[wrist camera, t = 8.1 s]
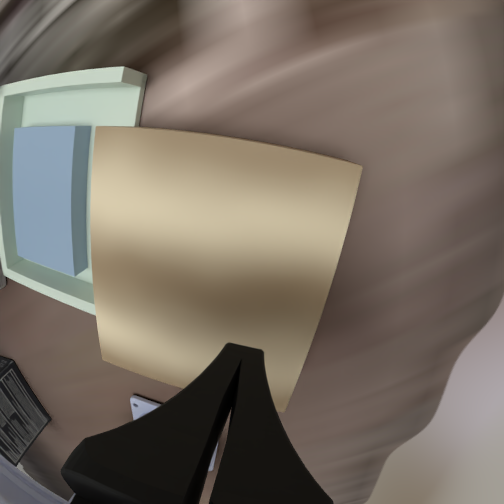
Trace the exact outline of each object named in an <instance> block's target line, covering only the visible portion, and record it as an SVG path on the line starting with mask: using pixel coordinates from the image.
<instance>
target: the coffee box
mask: <svg viewBox="0 0 504 504" xmlns="http://www.w3.org/2000/svg"><path fill="white" fill-rule="evenodd" d="M5 286H6V277H5V276H4V275H3V270H2V264H1V258H0V289H2V288H3V287H5Z"/></svg>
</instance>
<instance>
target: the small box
mask: <svg viewBox="0 0 504 504" xmlns="http://www.w3.org/2000/svg"><path fill="white" fill-rule="evenodd" d="M50 421H51V418H50V416H49V415H48V414H47V412H46V411H45V409H44V408H43V407H42V405H41V404H40V402H39V401H38V399H37V398H36V397H35V395H34V394H33V392H32V390H31V389H30V387H29V386H28V384H27V383H26V381H25V379H24V378H23V376H22V374H21V373H20V371H19V369H18V368H17V366H16V364H15V362H14V361H12V360H10V359H7V358H4V357H1V356H0V455H1V456H3V457H4V458H5V459H6V460H7V461H9V462H10V463H11V464H13V465H14V466H15V467H16V466H17V465H18V463H19V462H20V460H21V458H22V457H23V456H24V455H25V453H26V452H27V450H28V449H29V448H30V446H31V445H32V444H33V442H34V441H35V440H36V438H37V437H38V435H39V434H40V433H41V432H42V430H43V429H44V428H45V427H46V425H47V424H48V423H49V422H50Z"/></svg>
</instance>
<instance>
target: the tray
mask: <svg viewBox="0 0 504 504" xmlns="http://www.w3.org/2000/svg"><path fill="white" fill-rule="evenodd" d="M146 80H147V74H144V73H141V72H138V71H136V70H133V69H130V68H127V67H110V68H99V69H89V70H81V71H73V72H66V73H60V74H54V75H48V76H43V77H37V78H33V79H28V80H23V81H19V82H15V83H11V84H7V85H3V86H0V258H1V264H2V270H3V275H4V276H6V277H8V278H10V279H12V280H14V281H16V282H18V283H20V284H23V285H25V286H27V287H29V288H31V289H33V290H36V291H38V292H40V293H42V294H45V295H47V296H49V297H51V298H54V299H56V300H59V301H61V302H63V303H66V304H68V305H71V306H73V307H76V308H78V309H81V310H83V311H86V312H88V313H91V314H94V315H96V311H95V302H94V291H93V279H92V263H91V235H90V204H91V176H92V161H93V149H94V138H95V129H96V126H134V127H139V122H140V116H141V109H142V103H143V97H144V91H145V86H146ZM33 126H91V135H90V145H89V157H88V172H87V197H86V235H87V260H88V268H86V269H85V270H84V271H82V272H81V273H79V274H78V275H77V276H75V277H74V276H71V275H68V274H65V273H63V272H60V271H57V270H54V269H51V268H49V267H46V266H43V265H41V264H38V263H36V262H33V261H30V260H28V259H25V258H23V257H20V256H18V252H17V244H16V235H15V224H14V210H13V143H14V129H15V128H20V127H33Z"/></svg>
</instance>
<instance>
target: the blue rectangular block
mask: <svg viewBox="0 0 504 504" xmlns="http://www.w3.org/2000/svg"><path fill="white" fill-rule="evenodd" d="M90 135H91V126H33V127H20V128H15V129H14V143H13V210H14V224H15V235H16V244H17V252H18V256H20V257H23V258H25V259H28V260H30V261H33V262H36V263H38V264H41V265H43V266H46V267H49V268H51V269H54V270H57V271H60V272H63V273H65V274H68V275H71V276H74V277H75V276H77V275H78V274H79V273H81V272H82V271H84V270H85V269H86V268H88V260H87V235H86V197H87V172H88V157H89V145H90Z"/></svg>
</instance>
